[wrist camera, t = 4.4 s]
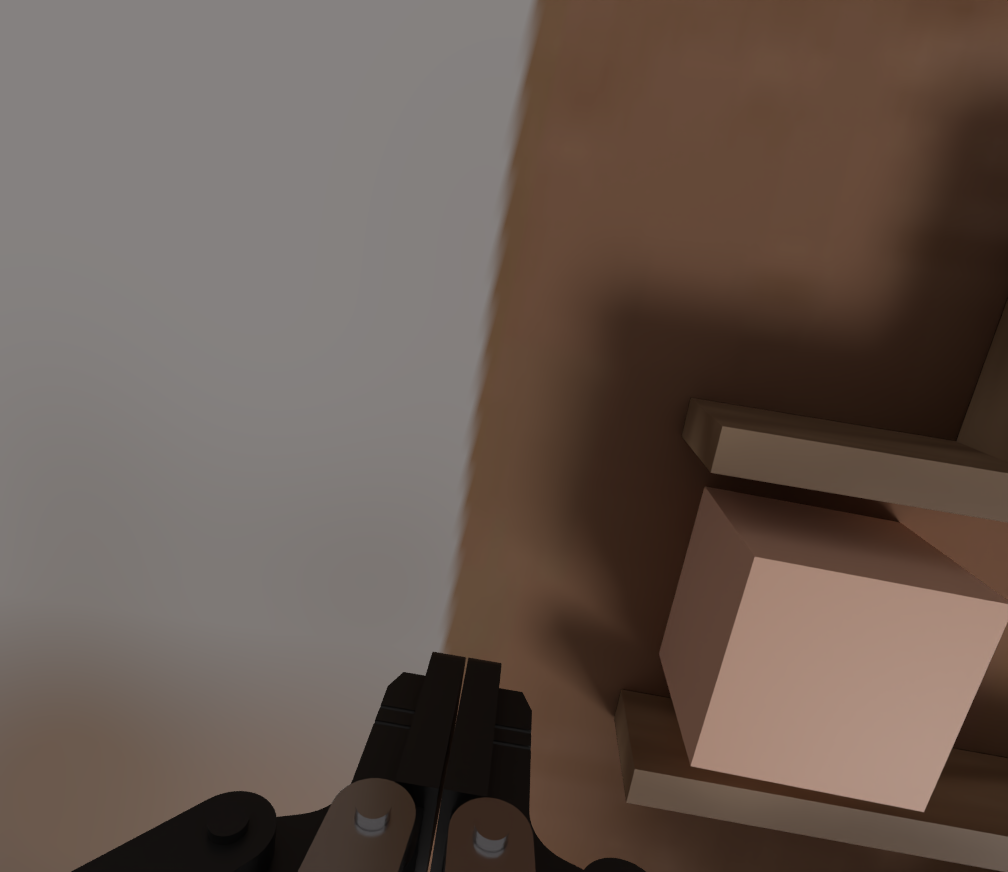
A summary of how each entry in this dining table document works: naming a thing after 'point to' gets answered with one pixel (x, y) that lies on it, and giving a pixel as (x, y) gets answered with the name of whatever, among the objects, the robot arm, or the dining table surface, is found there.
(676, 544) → the dining table surface
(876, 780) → the block
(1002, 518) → the box
